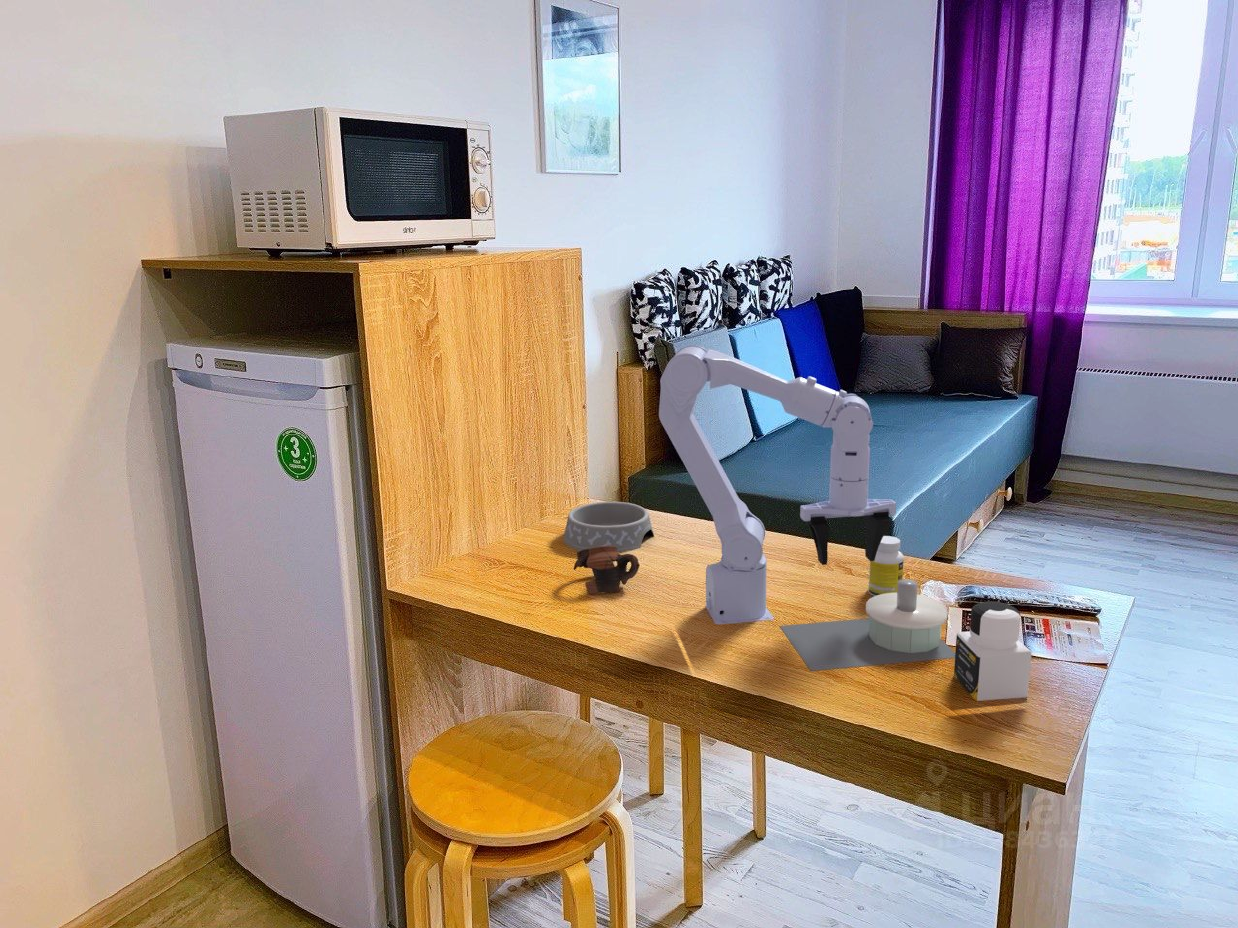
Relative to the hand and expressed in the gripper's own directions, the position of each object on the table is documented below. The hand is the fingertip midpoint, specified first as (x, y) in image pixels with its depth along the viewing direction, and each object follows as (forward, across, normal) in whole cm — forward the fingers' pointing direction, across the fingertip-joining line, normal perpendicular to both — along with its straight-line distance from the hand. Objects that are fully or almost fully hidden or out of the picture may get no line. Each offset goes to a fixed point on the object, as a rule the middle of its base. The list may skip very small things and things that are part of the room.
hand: (846, 560), depth 149 cm
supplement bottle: (+10, +10, +8) cm, 16 cm away
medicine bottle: (+10, +11, -25) cm, 29 cm away
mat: (+10, 0, -9) cm, 13 cm away
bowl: (+9, +6, -9) cm, 14 cm away
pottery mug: (+10, -35, +22) cm, 43 cm away
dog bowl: (+10, -32, +46) cm, 57 cm away
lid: (+5, +6, -9) cm, 12 cm away
